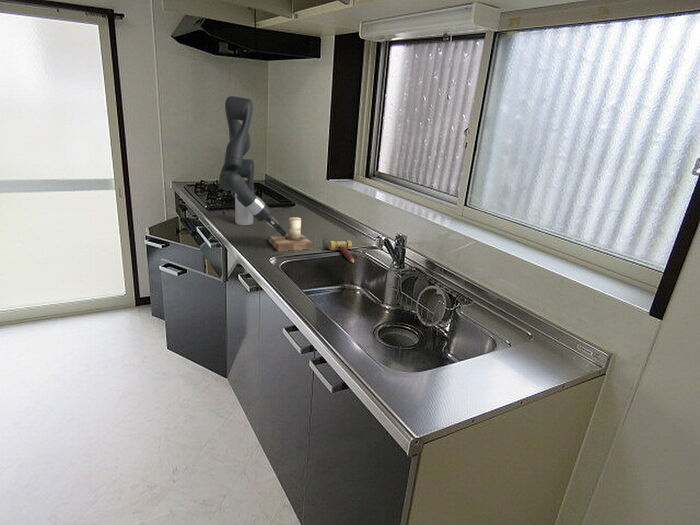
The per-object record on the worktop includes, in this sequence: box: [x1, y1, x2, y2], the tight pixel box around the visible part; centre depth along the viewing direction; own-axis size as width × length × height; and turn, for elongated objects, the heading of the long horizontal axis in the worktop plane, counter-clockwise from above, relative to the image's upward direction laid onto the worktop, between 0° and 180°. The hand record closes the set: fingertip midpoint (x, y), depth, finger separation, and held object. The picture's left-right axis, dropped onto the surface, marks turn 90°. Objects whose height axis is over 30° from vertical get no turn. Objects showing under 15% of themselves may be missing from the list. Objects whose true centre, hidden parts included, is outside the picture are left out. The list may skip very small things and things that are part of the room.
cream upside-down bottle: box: [287, 216, 302, 240], centre depth 206 cm, size 6×6×12 cm
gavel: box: [328, 240, 355, 264], centre depth 199 cm, size 21×5×10 cm
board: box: [267, 233, 313, 252], centre depth 207 cm, size 16×16×3 cm
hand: (282, 232), depth 203 cm, fingers open, 8 cm apart
